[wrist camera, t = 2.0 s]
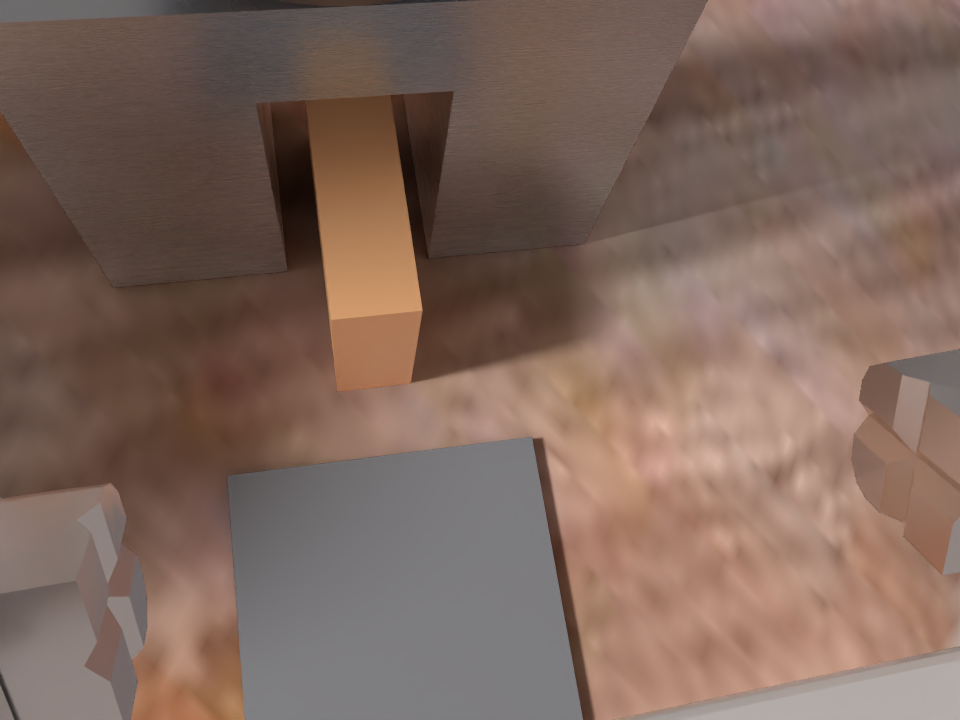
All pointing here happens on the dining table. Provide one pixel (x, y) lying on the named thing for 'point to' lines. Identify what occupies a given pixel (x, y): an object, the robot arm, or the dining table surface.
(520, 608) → the mat
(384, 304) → the plug
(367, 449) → the dining table surface
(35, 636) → the robot arm
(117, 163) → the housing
